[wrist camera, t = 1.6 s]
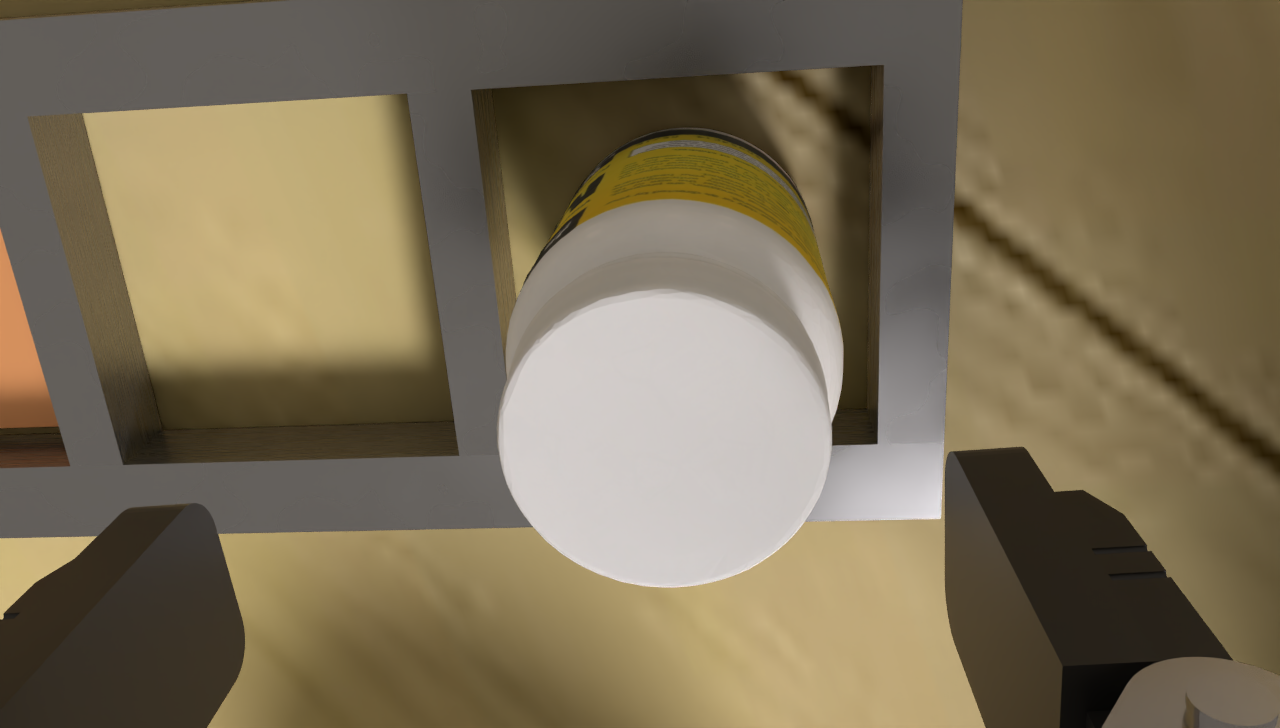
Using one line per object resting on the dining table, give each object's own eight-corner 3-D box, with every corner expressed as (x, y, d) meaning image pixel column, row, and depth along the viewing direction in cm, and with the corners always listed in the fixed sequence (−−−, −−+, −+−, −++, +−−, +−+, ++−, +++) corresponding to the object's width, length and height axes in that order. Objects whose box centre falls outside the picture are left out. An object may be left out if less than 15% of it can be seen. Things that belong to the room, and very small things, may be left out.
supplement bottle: (579, 105, 19) (480, 215, 11) (836, 143, 19) (913, 283, 11) (552, 347, 21) (450, 586, 13) (786, 384, 21) (822, 646, 13)
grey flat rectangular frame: (944, -48, 18) (964, -47, 16) (925, 479, 21) (940, 518, 20) (-393, 46, 20) (-482, 53, 19) (-205, 506, 24) (-267, 543, 22)
